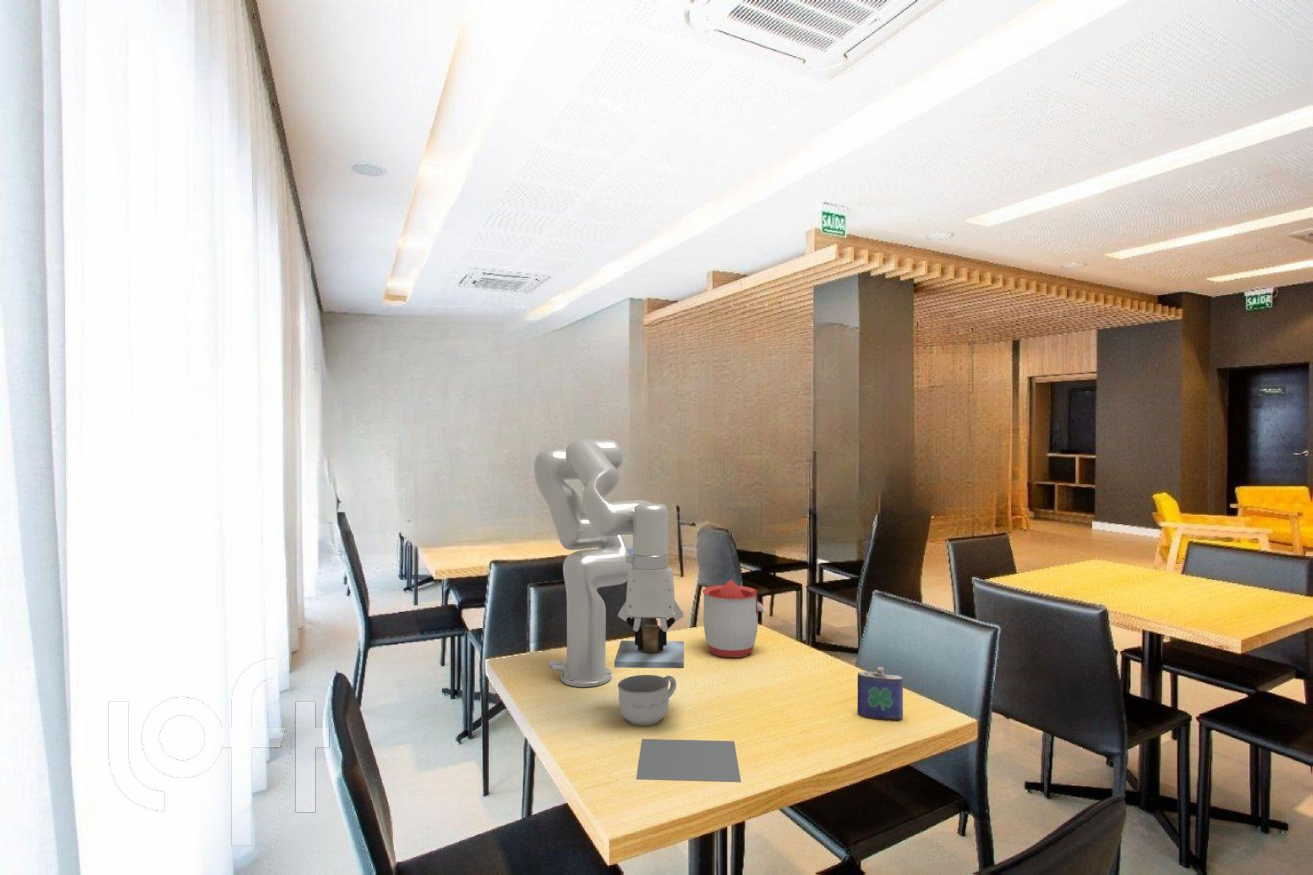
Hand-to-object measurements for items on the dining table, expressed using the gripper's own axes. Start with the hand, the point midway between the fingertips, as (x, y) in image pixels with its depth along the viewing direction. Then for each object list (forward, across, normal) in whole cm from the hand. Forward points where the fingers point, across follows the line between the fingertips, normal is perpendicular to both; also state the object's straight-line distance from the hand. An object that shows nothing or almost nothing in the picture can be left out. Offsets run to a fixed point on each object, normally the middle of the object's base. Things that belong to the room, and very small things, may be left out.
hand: (650, 647), depth 136 cm
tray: (+15, +8, -18) cm, 25 cm away
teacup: (+15, 0, 0) cm, 15 cm away
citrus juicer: (+15, +21, +44) cm, 51 cm away
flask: (+15, +49, +3) cm, 51 cm away
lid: (+2, 0, 0) cm, 2 cm away
